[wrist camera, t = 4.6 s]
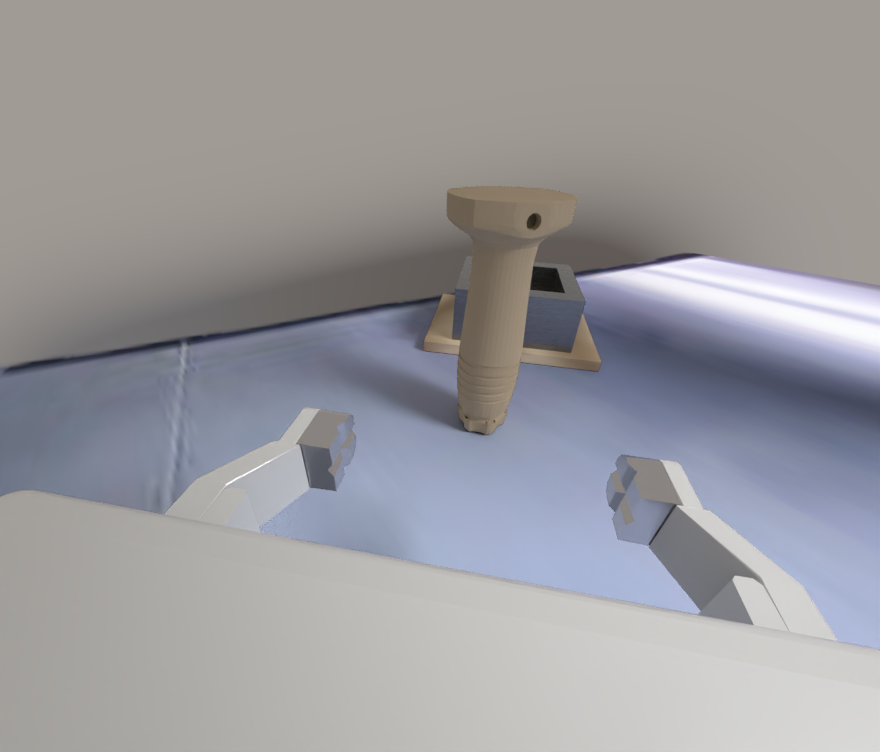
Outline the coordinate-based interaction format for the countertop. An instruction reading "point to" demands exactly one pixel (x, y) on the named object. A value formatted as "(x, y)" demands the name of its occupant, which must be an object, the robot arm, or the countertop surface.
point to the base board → (579, 358)
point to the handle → (499, 289)
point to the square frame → (537, 307)
